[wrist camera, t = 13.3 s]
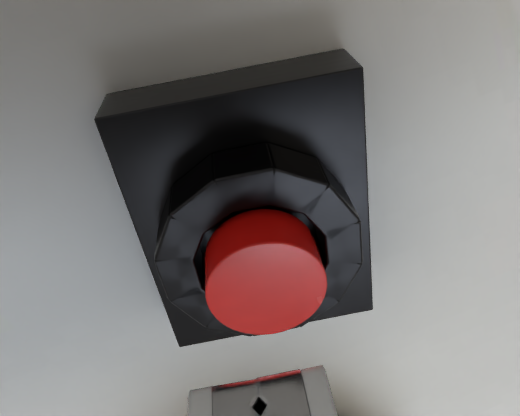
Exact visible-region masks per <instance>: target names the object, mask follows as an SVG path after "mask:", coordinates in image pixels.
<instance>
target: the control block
mask: <svg viewBox="0 0 520 416" xmlns="http://www.w3.org/2000/svg"><path fill="white" fill-rule="evenodd" d="M95 123H96V125H97V128H98V131H99V133H100V136H101V139H102V141H103V144H104V147H105V149H106V152H107V155H108V157H109V160H110V163H111V165H112V168H113V171H114V173H115V176H116V179H117V181H118V184H119V187H120V189H121V192H122V195H123V197H124V200H125V203H126V205H127V208H128V211H129V213H130V216H131V219H132V221H133V224H134V227H135V229H136V232H137V235H138V238H139V240H140V243H141V246H142V248H143V251H144V254H145V256H146V259H147V262H148V264H149V267H150V270H151V272H152V275H153V278H154V280H155V283H156V286H157V288H158V291H159V294H160V296H161V299H162V302H163V304H164V307H165V310H166V312H167V315H168V318H169V320H170V323H171V326H172V328H173V331H174V334H175V336H176V339H177V342H178V344H179V346H180V347H182V346H187V345H192V344H198V343H203V342H208V341H213V340H218V339H223V338H229V337H234V336H239V335H246V336H252V335H253V336H257V335H255V334H247V333H242V332H239V331H236V330H233V329H231V328H229V327H227V326H225V325H224V324H222V323H221V322H220V321H219V320H217V319H216V317H215V316H214V315H213V314H212V312H211V311H210V309H209V307H208V305H207V302H206V297H205V249H206V246H207V243H208V241H209V239H210V237H211V236H212V234H213V233H214V231H215V230H216V229H217V228H218V227H219V226H220V225H221V224H222V223H224V222H225V221H226V220H228V219H229V218H231V217H233V216H235V215H237V214H240V213H242V212H246V211H250V210H255V209H275V210H279V211H283V212H286V213H289V214H291V215H293V216H295V217H296V218H298V219H300V220H301V221H302V222H303V223H304V224H305V225H306V226H307V227H308V228H309V230H310V231H311V233H312V235H313V237H314V240H315V243H316V246H317V249H318V252H319V254H320V257H321V260H322V263H323V266H324V269H325V272H326V276H327V290H326V294H325V297H324V299H323V301H322V303H321V305H320V306H319V308H318V309H317V310H316V312H315V313H314V314H313V315H312V316H311V317H309V318H308V319H307V320H305V321H304V322H303V323H301V324H299V325H297V326H296V327H293V328H298V327H299V326H300V327H302V326H303V325H305V324H306V323H308V322H311V321H316V320H321V319H327V318H332V317H337V316H342V315H347V314H352V313H357V312H363V311H368V310H372V309H373V302H372V277H371V253H370V228H369V203H368V179H367V154H366V129H365V104H364V80H363V67H362V66H361V65H360V64H359V63H358V62H357V61H356V60H355V59H354V58H353V57H352V56H351V55H350V54H349V53H348V52H347V51H346V50H345V49H339V50H334V51H329V52H323V53H318V54H313V55H308V56H303V57H297V58H292V59H287V60H282V61H277V62H271V63H266V64H261V65H256V66H251V67H245V68H240V69H235V70H230V71H224V72H219V73H214V74H209V75H204V76H198V77H193V78H188V79H183V80H178V81H172V82H167V83H162V84H157V85H152V86H146V87H141V88H136V89H131V90H126V91H120V92H115V93H110V94H107V95H106V96H105V98H104V100H103V103H102V105H101V107H100V109H99V111H98V113H97V115H96V117H95ZM293 328H291V329H293Z"/></svg>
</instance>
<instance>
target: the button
mask: <svg viewBox="0 0 520 416" xmlns="http://www.w3.org/2000/svg"><path fill="white" fill-rule="evenodd" d="M326 290H327V276H326V272H325V269H324V266H323V263H322V260H321V257H320V254H319V252H318V249H317V246H316V243H315V240H314V237H313V235H312V233H311V231H310V230H309V228H308V227H307V226H306V225H305V224H304V223H303V222H302V221H301V220H300V219H298V218H296V217H295V216H293V215H291V214H289V213H286V212H283V211H279V210H275V209H255V210H250V211H246V212H242V213H240V214H237V215H235V216H233V217H231V218H229V219H228V220H226V221H225V222H224V223H222V224H221V225H220V226H219V227H218V228H217V229H216V230H215V231H214V233H213V234H212V236H211V237H210V239H209V241H208V243H207V246H206V249H205V297H206V302H207V305H208V307H209V309H210V311H211V312H212V314H213V315H214V316H215V317H216V319H217V320H219V321H220V322H221V323H222V324H224V325H225V326H227V327H229V328H231V329H233V330H236V331H239V332H242V333H247V334H255V335H265V334H274V333H279V332H283V331H286V330H289V329H291V328H293V327H296V326H297V325H299V324H301V323H303V322H304V321H305V320H307V319H308V318H309V317H311V316H312V315H313V314H314V313H315V312H316V310H317V309H318V308H319V306H320V305H321V303H322V301H323V299H324V297H325V294H326Z"/></svg>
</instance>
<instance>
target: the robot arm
mask: <svg viewBox="0 0 520 416" xmlns="http://www.w3.org/2000/svg"><path fill="white" fill-rule="evenodd" d="M188 416H338V414H337V411H336V407H335V403H334V400H333V396H332V392H331V389H330V385H329V382H328V378H327V374H326V371H325V369H324V367H323V365H321V366H316V367H311V368H307V369H302V370H301V371H300V369H298V370H293V371H288V372H283V373H279V374H274V375H269V376H264V377H259V378H257V379H253V380H247V381H241V382H236V383H230V384H224V385H218V386H211V387H206V388H201V389H195V390H190V392H189V396H188Z"/></svg>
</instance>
